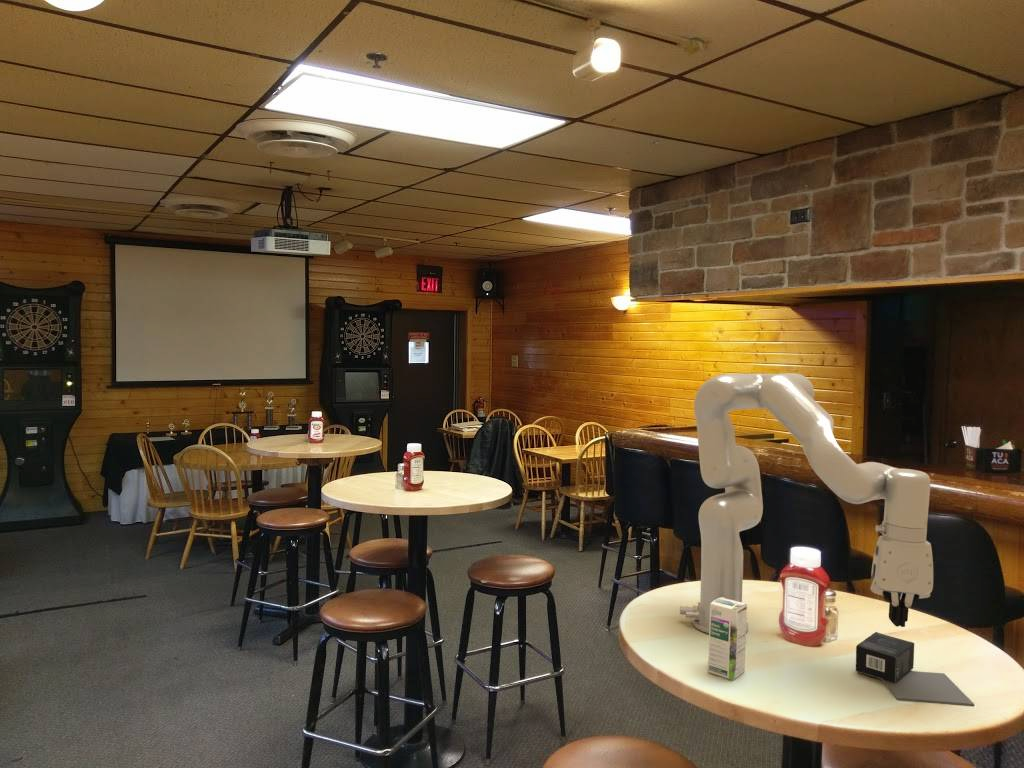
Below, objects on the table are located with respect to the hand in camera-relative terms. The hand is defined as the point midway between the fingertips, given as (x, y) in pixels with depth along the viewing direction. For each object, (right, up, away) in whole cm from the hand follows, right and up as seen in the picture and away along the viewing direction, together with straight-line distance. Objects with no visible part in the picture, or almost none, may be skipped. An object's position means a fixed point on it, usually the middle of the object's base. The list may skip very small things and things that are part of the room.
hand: (897, 623), depth 146 cm
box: (-4, -9, +2) cm, 10 cm away
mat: (+4, -12, 0) cm, 13 cm away
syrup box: (-32, -12, +5) cm, 35 cm away
